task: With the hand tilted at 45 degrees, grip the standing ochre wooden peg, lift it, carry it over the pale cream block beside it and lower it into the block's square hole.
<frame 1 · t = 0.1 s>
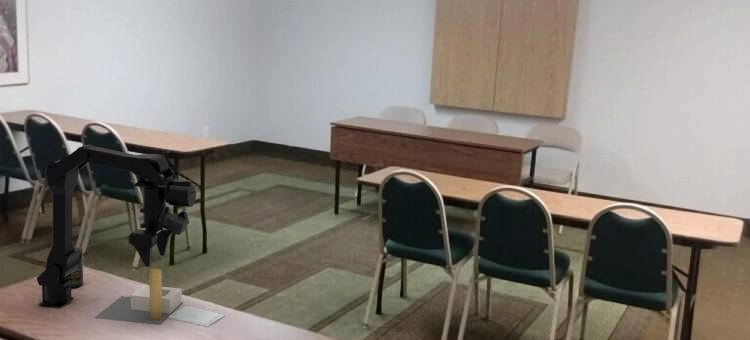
hand: (155, 260, 194), 15 cm above the table, tool pointing down, fingers open, 9 cm apart
mat: (140, 311, 197), on the table
supplement container: (71, 285, 213), on the table
hard drive: (197, 321, 195), on the table
hole block: (156, 305, 200), resting on mat
peg: (155, 317, 193), resting on mat
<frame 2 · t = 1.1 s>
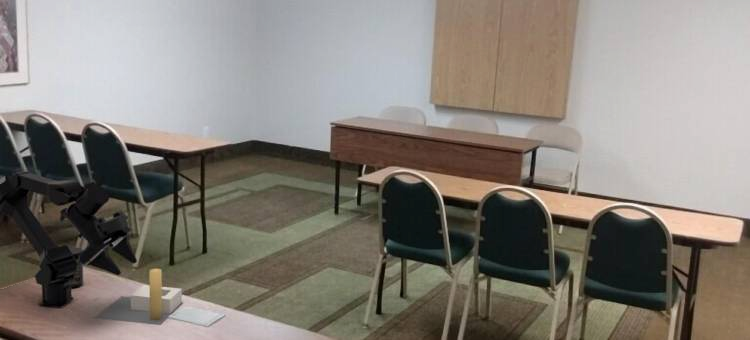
hand: (127, 268, 191), 13 cm above the table, tool tilted 45°, fingers open, 9 cm apart
nothing on the table moved.
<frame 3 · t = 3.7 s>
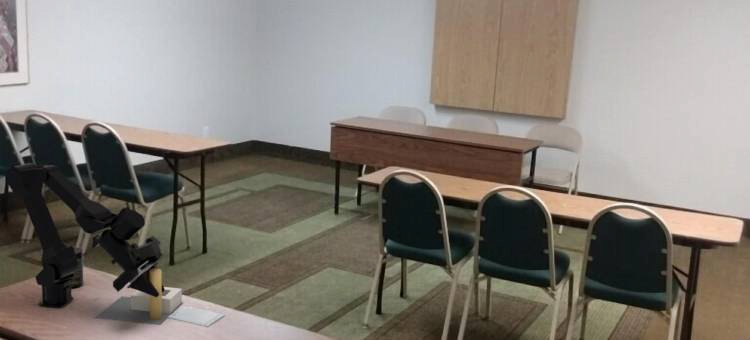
hand: (160, 293, 191), 7 cm above the table, tool tilted 45°, fingers closed on peg, 3 cm apart
peg: (155, 317, 193), point 1 cm above the table, touching gripper, mat
everything else where it was.
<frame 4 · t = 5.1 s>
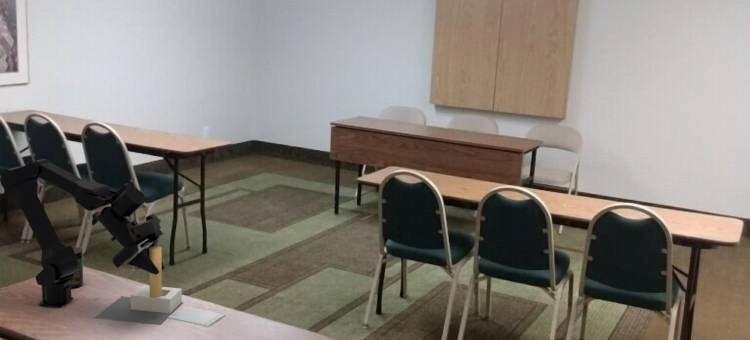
hand: (160, 271, 190), 13 cm above the table, tool tilted 45°, fingers closed on peg, 3 cm apart
peg: (155, 295, 192), point 6 cm above the table, touching gripper
everything else where it was.
when the fingers open (9 cm above the table, at t = 7.2 s): peg drops 1 cm, resting on mat.
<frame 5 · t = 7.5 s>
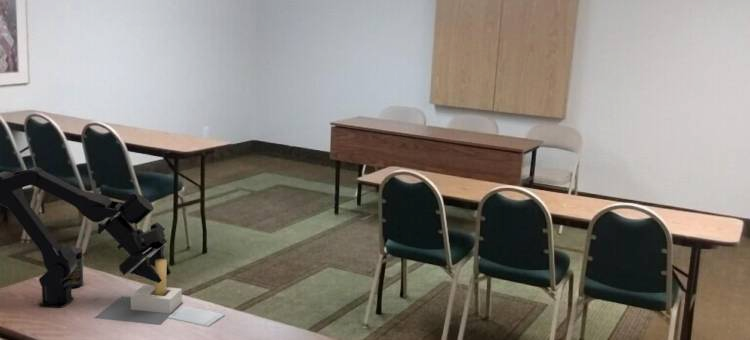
hand: (165, 277, 199), 9 cm above the table, tool tilted 45°, fingers open, 6 cm apart
peg: (160, 306, 200), point 1 cm above the table, touching mat
everything else where it was.
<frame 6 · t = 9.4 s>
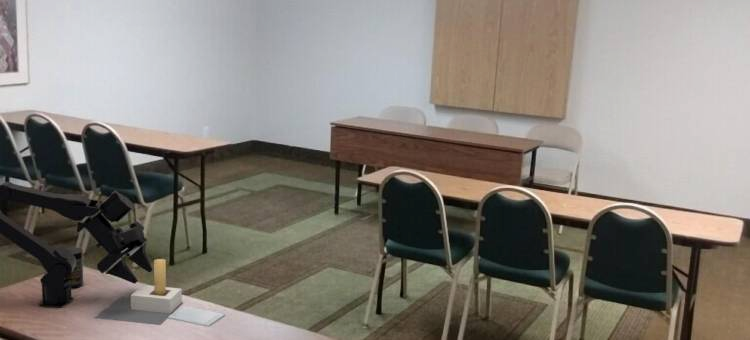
hand: (143, 276, 199), 9 cm above the table, tool tilted 45°, fingers open, 9 cm apart
nothing on the table moved.
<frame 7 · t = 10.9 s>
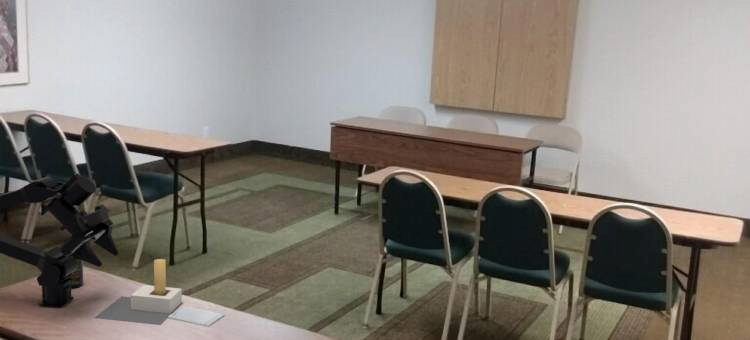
hand: (109, 260, 196), 14 cm above the table, tool tilted 45°, fingers open, 9 cm apart
nothing on the table moved.
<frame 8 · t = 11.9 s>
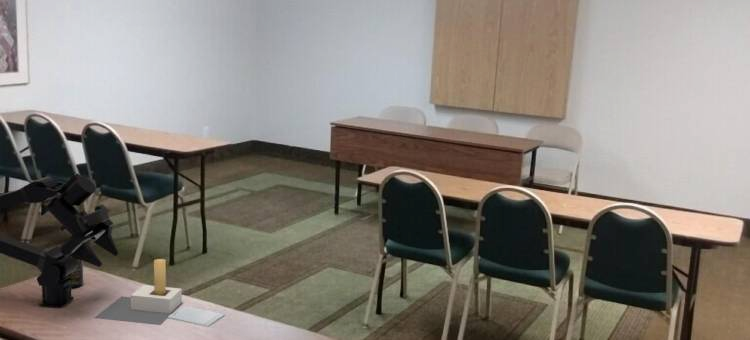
hand: (109, 260, 196), 14 cm above the table, tool tilted 45°, fingers open, 9 cm apart
nothing on the table moved.
at the end: peg 0.1 cm from the target spot on the hole block, point 0.0 cm above the hole block's base; peg tilted 0°; the gripper is holding nothing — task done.
